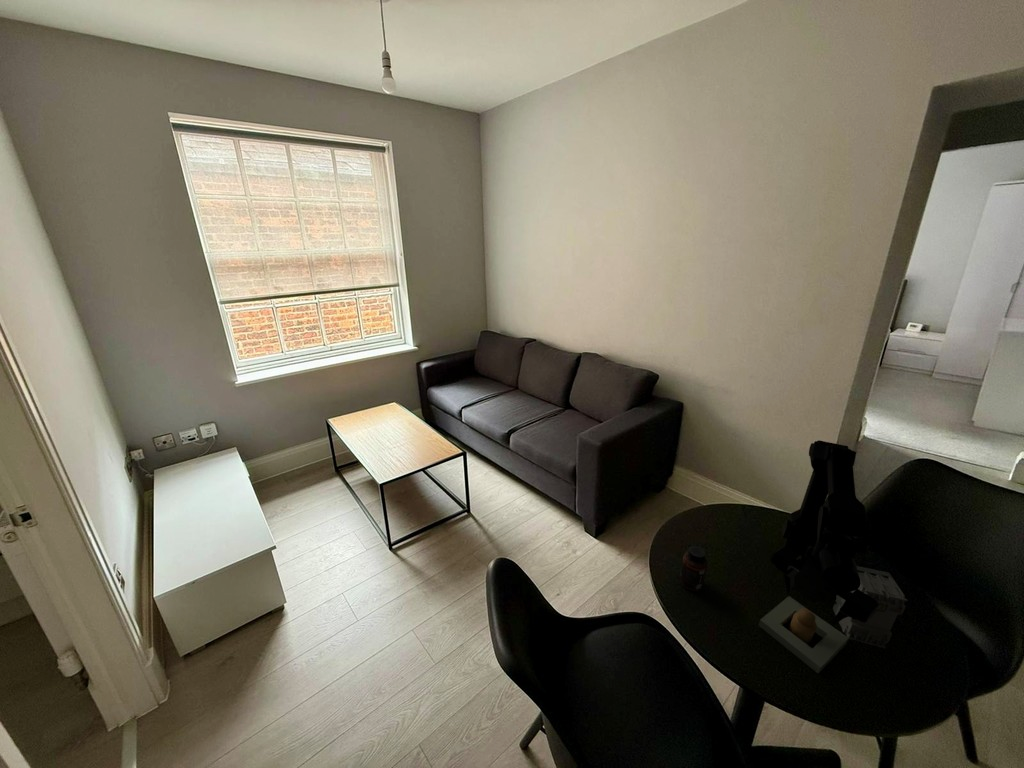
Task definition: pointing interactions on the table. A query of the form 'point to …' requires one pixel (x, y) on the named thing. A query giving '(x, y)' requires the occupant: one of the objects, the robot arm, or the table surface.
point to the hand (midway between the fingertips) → (810, 607)
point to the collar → (812, 657)
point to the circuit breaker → (883, 619)
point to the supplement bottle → (693, 569)
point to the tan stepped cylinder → (803, 625)
